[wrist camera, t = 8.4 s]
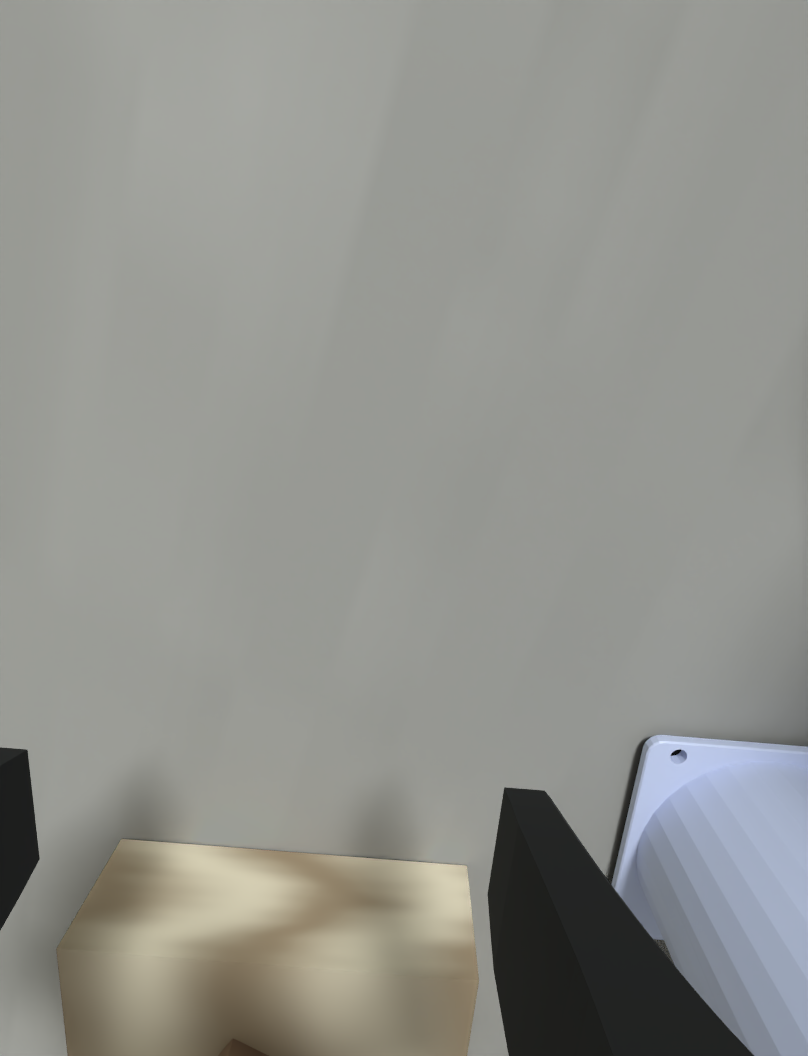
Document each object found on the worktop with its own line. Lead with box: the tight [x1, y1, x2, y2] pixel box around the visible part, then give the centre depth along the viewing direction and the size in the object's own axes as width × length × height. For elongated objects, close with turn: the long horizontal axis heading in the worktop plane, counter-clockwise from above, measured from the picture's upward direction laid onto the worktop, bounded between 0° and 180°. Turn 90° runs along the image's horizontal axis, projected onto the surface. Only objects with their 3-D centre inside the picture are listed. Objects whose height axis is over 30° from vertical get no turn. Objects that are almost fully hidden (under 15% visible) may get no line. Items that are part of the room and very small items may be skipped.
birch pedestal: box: [56, 839, 479, 1056], centre depth 21 cm, size 12×12×4 cm
